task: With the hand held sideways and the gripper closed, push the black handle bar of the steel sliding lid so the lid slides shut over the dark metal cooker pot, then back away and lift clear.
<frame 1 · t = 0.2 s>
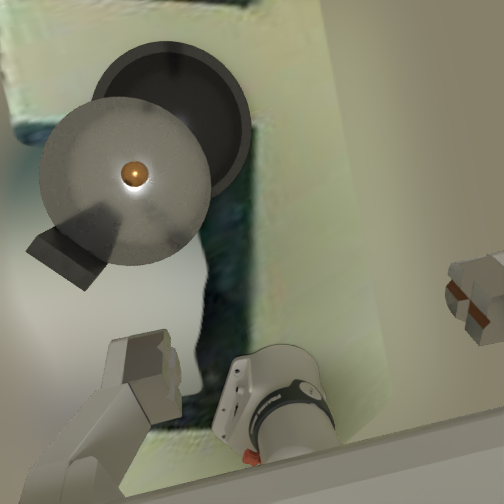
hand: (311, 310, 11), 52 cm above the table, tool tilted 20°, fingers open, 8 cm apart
cooker lid: (119, 193, 49), point 12 cm above the table, slide at 9.0 cm
cooker pot: (177, 130, 59), on the table
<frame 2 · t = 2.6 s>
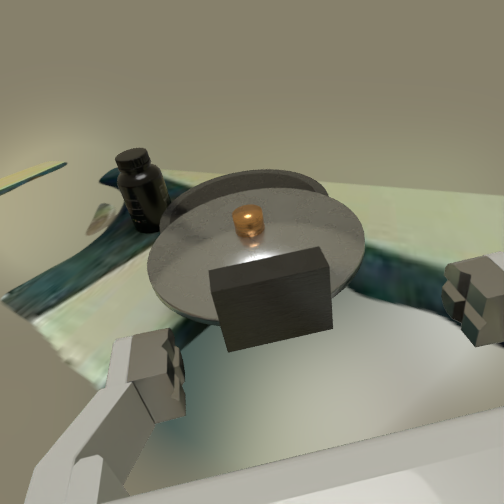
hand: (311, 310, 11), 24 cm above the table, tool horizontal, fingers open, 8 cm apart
supplement bottle: (155, 223, 67), on the table
cooker lid: (251, 227, 38), point 12 cm above the table, slide at 9.0 cm
cooker pot: (254, 266, 53), on the table
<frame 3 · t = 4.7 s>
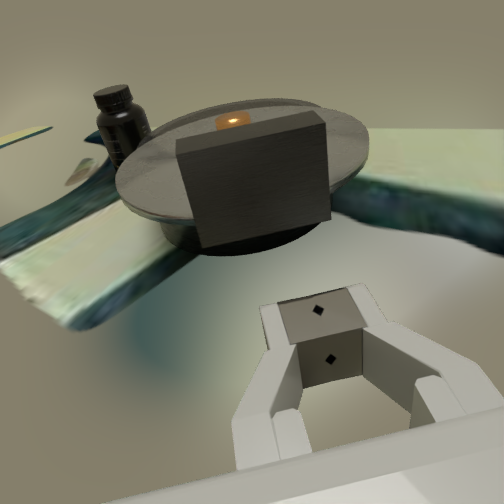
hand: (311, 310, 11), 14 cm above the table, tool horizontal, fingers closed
supplement bottle: (140, 172, 61), on the table
cooker lid: (236, 127, 32), point 12 cm above the table, slide at 9.0 cm
cooker pot: (245, 204, 47), on the table
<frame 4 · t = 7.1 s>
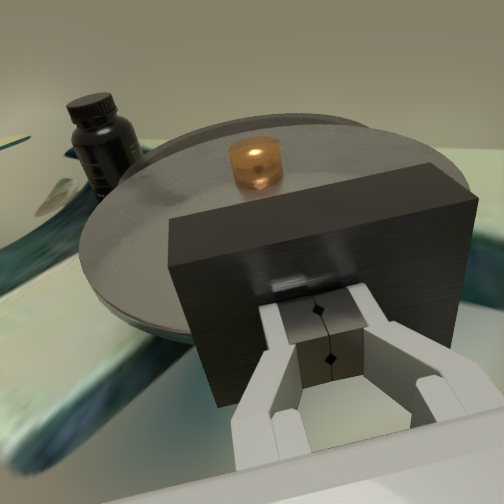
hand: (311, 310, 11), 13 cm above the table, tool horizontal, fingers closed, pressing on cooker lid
supplement bottle: (128, 200, 50), on the table
cooker lid: (262, 165, 21), point 12 cm above the table, slide at 8.2 cm, touching gripper
cooker pot: (264, 254, 36), on the table
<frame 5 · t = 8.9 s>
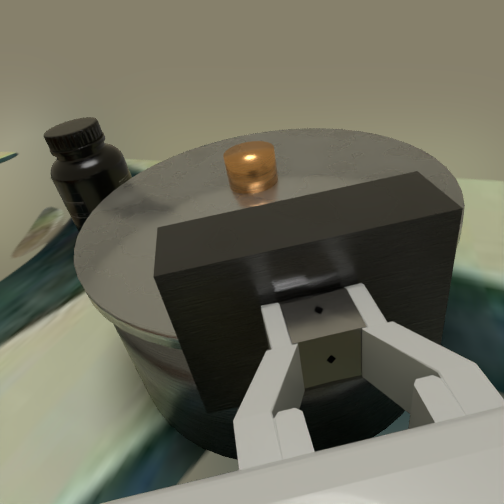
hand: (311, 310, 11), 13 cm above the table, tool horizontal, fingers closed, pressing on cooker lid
supplement bottle: (119, 238, 43), on the table
cooker lid: (256, 171, 21), point 12 cm above the table, slide at -0.1 cm, touching gripper
cooker pot: (280, 323, 29), on the table
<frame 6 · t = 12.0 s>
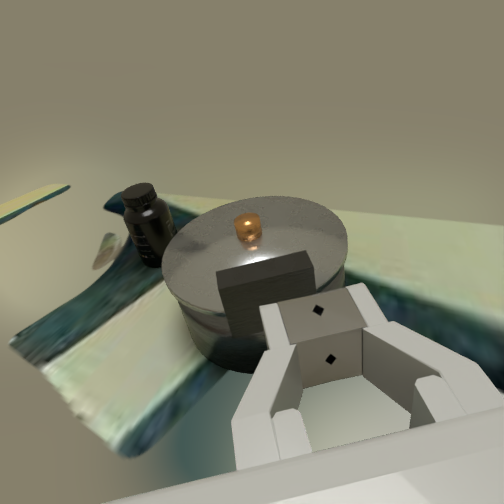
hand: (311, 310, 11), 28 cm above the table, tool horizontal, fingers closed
supplement bottle: (162, 256, 66), on the table
cooker lid: (250, 233, 44), point 12 cm above the table, slide at 0.0 cm
cooker pot: (266, 307, 52), on the table
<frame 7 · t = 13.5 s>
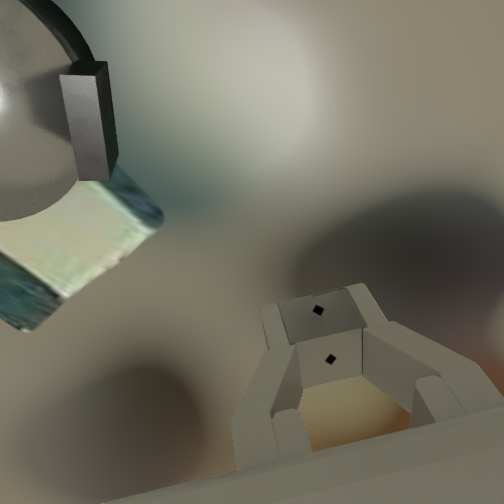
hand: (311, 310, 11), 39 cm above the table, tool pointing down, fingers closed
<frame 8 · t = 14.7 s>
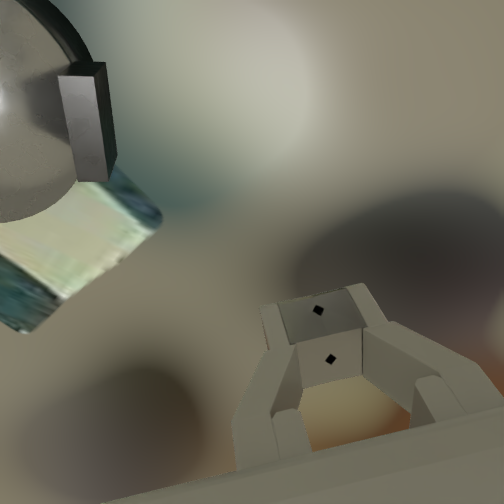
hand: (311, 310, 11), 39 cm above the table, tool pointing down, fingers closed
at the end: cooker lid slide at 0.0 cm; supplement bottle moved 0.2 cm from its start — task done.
